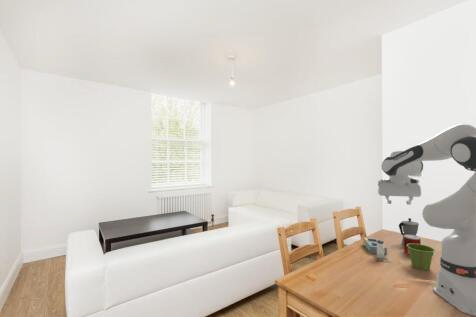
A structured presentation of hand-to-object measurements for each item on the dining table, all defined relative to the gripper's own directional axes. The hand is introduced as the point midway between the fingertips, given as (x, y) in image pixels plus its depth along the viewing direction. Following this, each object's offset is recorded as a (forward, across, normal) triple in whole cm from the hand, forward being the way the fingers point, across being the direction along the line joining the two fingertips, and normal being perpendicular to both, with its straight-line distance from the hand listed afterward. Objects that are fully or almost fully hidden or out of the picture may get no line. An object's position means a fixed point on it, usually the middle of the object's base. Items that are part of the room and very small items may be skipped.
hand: (398, 203), depth 129 cm
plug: (+32, -10, -2) cm, 33 cm away
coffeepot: (+33, +16, +29) cm, 47 cm away
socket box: (+33, -9, +14) cm, 37 cm away
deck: (+33, -10, -2) cm, 34 cm away
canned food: (+33, +11, +12) cm, 37 cm away
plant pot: (+33, +7, -7) cm, 34 cm away
